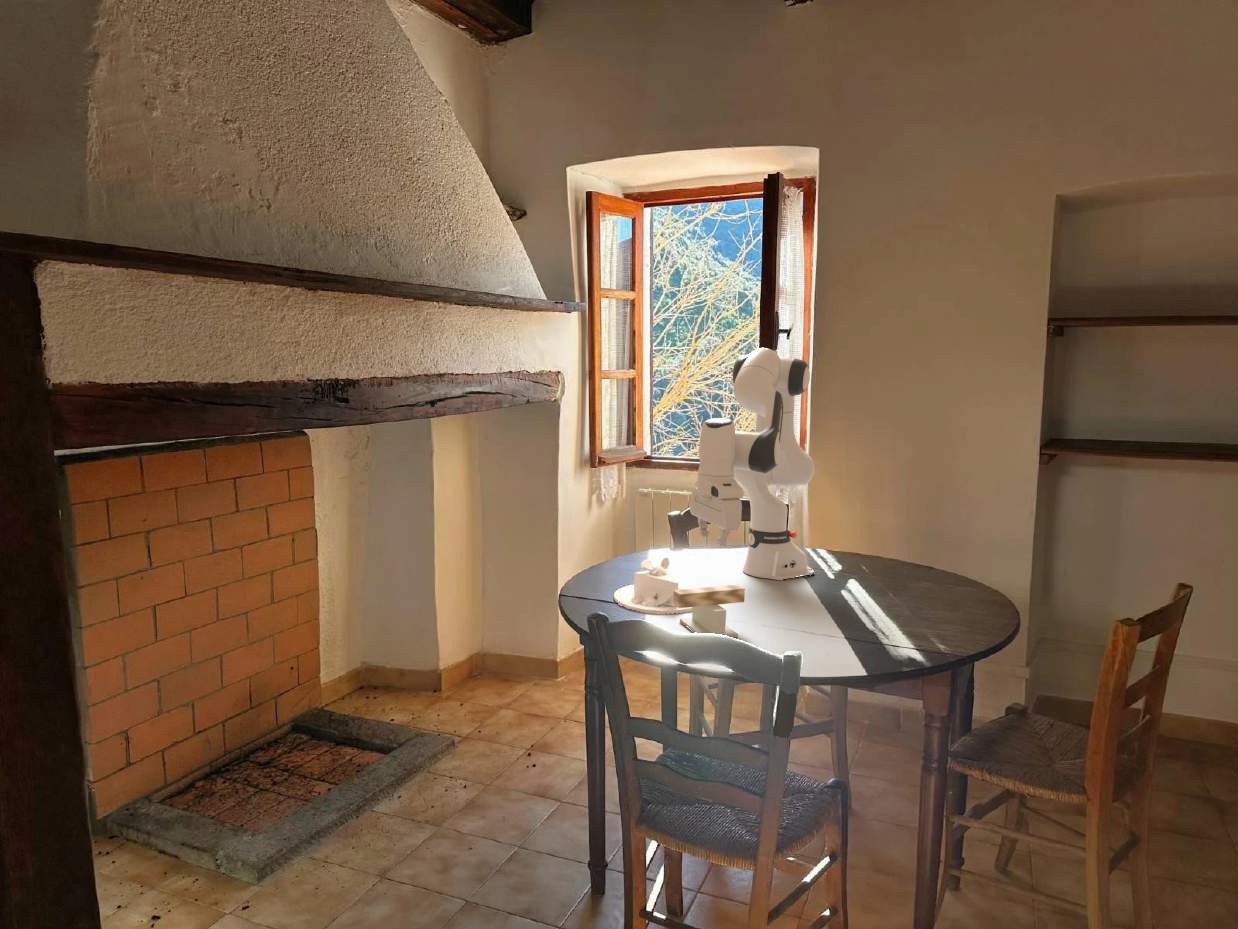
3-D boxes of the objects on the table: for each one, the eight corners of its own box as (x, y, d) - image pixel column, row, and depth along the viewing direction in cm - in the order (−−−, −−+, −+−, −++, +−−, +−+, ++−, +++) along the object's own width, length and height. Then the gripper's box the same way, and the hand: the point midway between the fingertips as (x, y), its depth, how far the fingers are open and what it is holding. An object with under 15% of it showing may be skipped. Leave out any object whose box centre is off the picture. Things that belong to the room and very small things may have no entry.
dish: (597, 594, 234) (598, 555, 232) (671, 583, 246) (672, 546, 245) (643, 620, 213) (645, 578, 211) (721, 607, 225) (723, 567, 224)
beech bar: (737, 597, 210) (738, 584, 210) (744, 602, 207) (744, 588, 207) (673, 603, 204) (673, 590, 203) (679, 608, 201) (679, 594, 200)
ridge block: (711, 619, 214) (712, 593, 213) (737, 637, 202) (739, 610, 201) (679, 622, 211) (680, 596, 210) (704, 641, 198) (706, 613, 197)
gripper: (685, 478, 210) (682, 531, 212) (723, 493, 191) (720, 551, 193) (707, 477, 212) (704, 530, 214) (747, 492, 193) (744, 549, 195)
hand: (712, 540), depth 203 cm, fingers open, 8 cm apart
